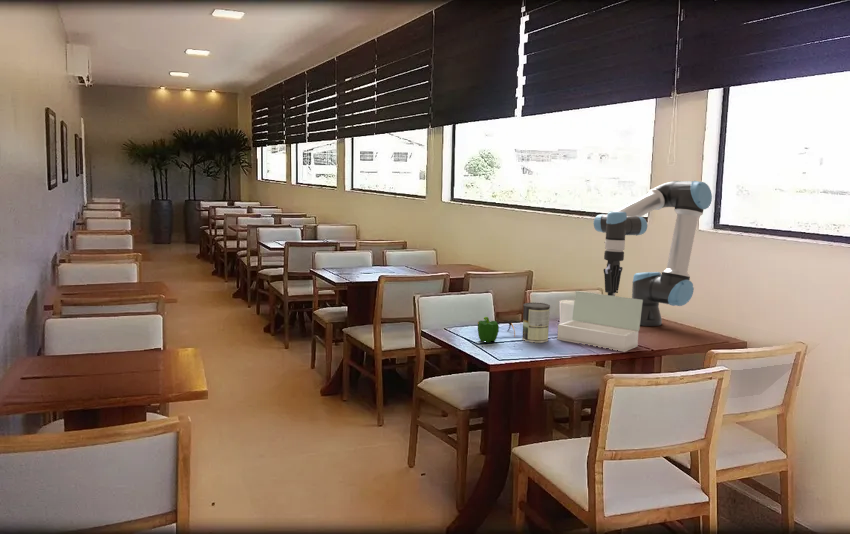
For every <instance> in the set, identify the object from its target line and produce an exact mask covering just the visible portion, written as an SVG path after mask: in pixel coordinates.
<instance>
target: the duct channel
mask: <svg viewBox="0 0 850 534" xmlns="http://www.w3.org/2000/svg"><path fill="white" fill-rule="evenodd" d="M556 338H557V340H559V341H563V342H569V343H575V344H579V343H582V344H581V345H585V344H588V345H587V346H590V345H593V346H592V347H596V346H598V348H601V347H603V349H606V348H609V349H608V350H612V349H613V351H617V350H618V351H619V352H624V353H625V352H627V351H630V350H632V349H634V348H637V347H638V345H639V344H638V343H639V331H636V330H630V329H624V328H618V327H612V326H606V325H600V324H593V323H587V322H580V321H574V320H572V321H568V322H565V323H562V324H560V323H559V324H557V337H556Z"/></svg>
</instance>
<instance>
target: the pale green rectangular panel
mask: <svg viewBox="0 0 850 534" xmlns="http://www.w3.org/2000/svg"><path fill="white" fill-rule="evenodd" d="M574 300H575V301H574V310H573V319H572V320H575V321H581V322H586V323H592V324H598V325H604V326H610V327H616V328H623V329H629V330H635V331H638V332H639V331H640V328H641V325H640V320H641V311H642V302H643V300H640V299H633V298H632V297H624V296H616V295H615V296H610V295H608V294H600V293H595V292H587V291H579V290H575V292H574Z"/></svg>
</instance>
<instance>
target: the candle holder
mask: <svg viewBox="0 0 850 534" xmlns="http://www.w3.org/2000/svg"><path fill="white" fill-rule="evenodd" d="M574 301H575V299H562V300H561V299H560V300H559V324H562V323H565V322H568V321H572V319H573V310H574ZM574 321H575V320H574ZM580 322H581V321H580Z"/></svg>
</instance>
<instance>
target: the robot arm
mask: <svg viewBox="0 0 850 534" xmlns="http://www.w3.org/2000/svg"><path fill="white" fill-rule="evenodd" d="M712 200H713V195H712V190H711V188H710V186H709V185H708V183H706V182H704V181H697V180H682V181H681V180H671V181H668V182H665V183H662V184H659V185H657V186H656V187H653V188H651V189H649V190H648V191H647V192H646V194H645V195H642V196H640V197H638V198H637V199H635V200H632V201H630V202H629V203H627V204H624V205H623V206H621V207H619V208H617V209H615V210H613V211H609V212H607V214H605V213H602V214H596V216H595V217H594V219H593V227H594V228H593V229H594V230H595V231H597V232H599V233H604V234H605V241H604V249H605V250H604V259H603V260H605V261H607V263H606V267H605V268H603V274H604V275H603V276H604V292H605V293H607V295H610V296H616V294H618V293H619V287H620V281H621V275H622V272H623V267H622V266H621V262H623V261H624V260H625V259H624V258H625V252H624V251H625V247H626V236H640V235H641V236H643V235H644V234H645V233H646V232H647V229H648V221H647V219H646V218H644V217H643V216H645V215H647V214H648V213H651V212H652V211H657V210H661V209H665V208H674V212H675V213H676V219H675V223H674V229H673V234H672V238H671V239H672V240H671V244H670V249H669V255H668V260H667V264H666V268H665V269H664V270H662V271H661V272H660V271H645V272H644V271H642V272H636V273H634V275H633V279H632V289H631V290H632V292H631V293H632V294H631V298H633V299H640V300H643V302H642V311H641V320H640V326H644V327H655V326H656V327H657V326H661V325H662V322H663V321H662V320H663V319H662V315H661V312H660V308H659V304H664V305H669V306H673V307H674V306H677V307H683V306H685V305H687V304H688V303H689V301H691V299H692V298H693V295H694V289H695V287H694V283H693V282H692V281H691V280H690V279H691V278H690V277H691V276H690V274H689V273H688V270H689V266H690V260H691V255H692V254H691V253H692V250H693V246H694V242H695V240H694V239H695V234H696V231H697V225H698V220H699V217H701V216H702V215H704V210H707V209H709V207H710V206H711V204H712Z"/></svg>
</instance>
